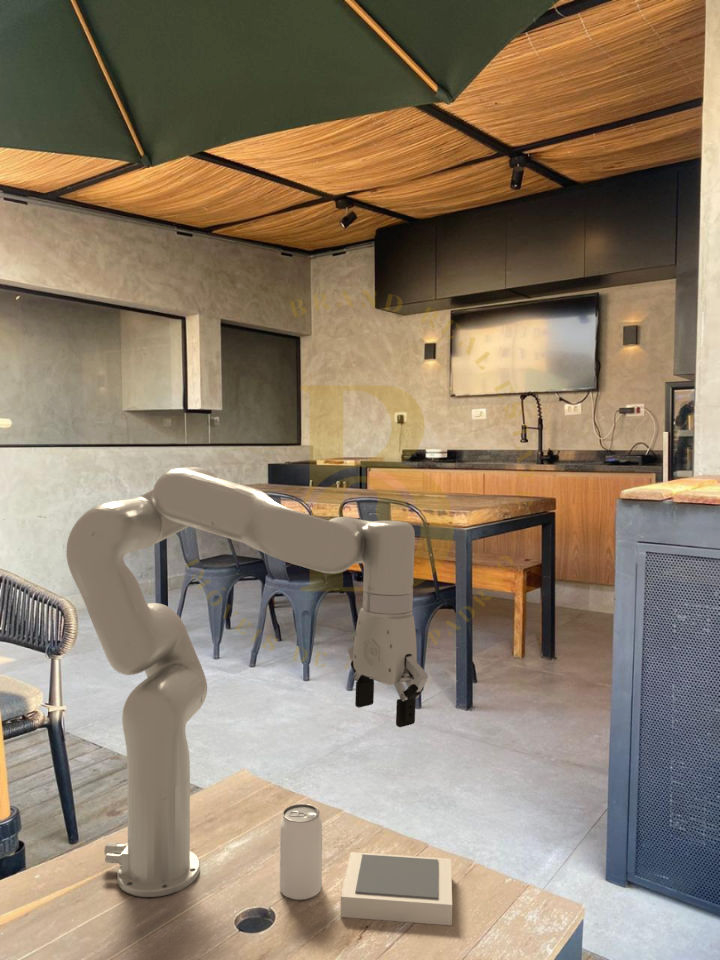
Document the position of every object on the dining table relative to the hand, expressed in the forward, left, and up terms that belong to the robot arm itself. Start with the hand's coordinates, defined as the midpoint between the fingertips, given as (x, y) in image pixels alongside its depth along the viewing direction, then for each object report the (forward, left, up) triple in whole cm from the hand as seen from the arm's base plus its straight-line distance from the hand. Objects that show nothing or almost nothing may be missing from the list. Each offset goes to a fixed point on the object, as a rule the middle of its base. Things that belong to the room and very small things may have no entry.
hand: (384, 715), depth 111 cm
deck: (+2, -1, -28) cm, 28 cm away
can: (-13, -1, -28) cm, 30 cm away
